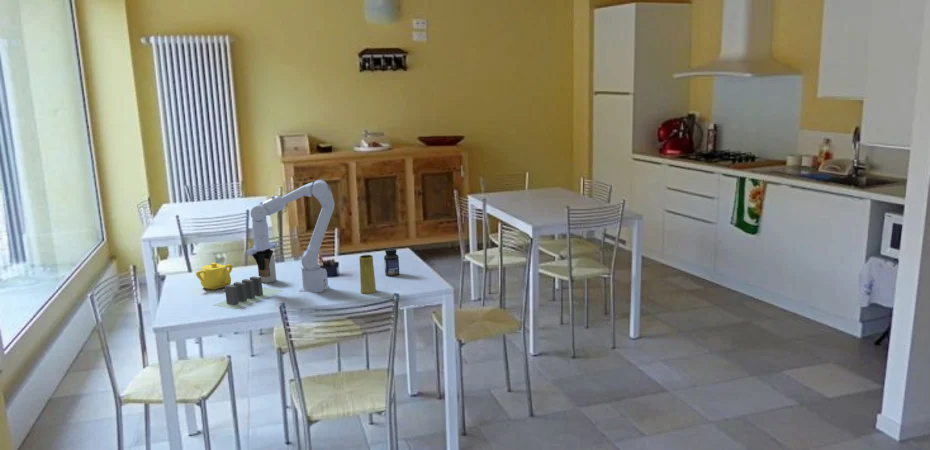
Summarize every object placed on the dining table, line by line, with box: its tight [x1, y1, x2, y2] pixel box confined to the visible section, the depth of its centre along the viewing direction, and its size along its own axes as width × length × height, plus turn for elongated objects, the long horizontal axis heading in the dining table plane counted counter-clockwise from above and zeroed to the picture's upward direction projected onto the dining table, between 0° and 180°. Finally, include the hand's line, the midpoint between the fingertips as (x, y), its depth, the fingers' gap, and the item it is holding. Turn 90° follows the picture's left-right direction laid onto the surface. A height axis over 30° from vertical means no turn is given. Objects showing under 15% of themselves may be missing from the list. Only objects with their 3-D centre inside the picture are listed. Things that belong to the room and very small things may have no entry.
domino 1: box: [224, 284, 239, 305], centre depth 268 cm, size 2×4×7 cm, turn 61°
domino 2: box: [232, 281, 247, 302], centre depth 271 cm, size 2×4×7 cm, turn 61°
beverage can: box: [261, 254, 277, 284], centre depth 297 cm, size 6×6×12 cm
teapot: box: [195, 262, 233, 291], centre depth 292 cm, size 14×13×10 cm
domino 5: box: [257, 259, 270, 277], centre depth 279 cm, size 2×4×7 cm, turn 61°
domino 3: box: [241, 278, 255, 299], centre depth 275 cm, size 2×4×7 cm, turn 61°
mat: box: [214, 287, 283, 310], centre depth 276 cm, size 25×12×1 cm, turn 151°
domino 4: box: [249, 276, 263, 296], centre depth 278 cm, size 2×4×7 cm, turn 61°
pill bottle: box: [383, 248, 400, 277], centre depth 301 cm, size 6×6×11 cm
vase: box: [359, 254, 377, 295], centre depth 277 cm, size 6×6×14 cm
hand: (264, 269), depth 280 cm, fingers closed on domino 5, 2 cm apart
